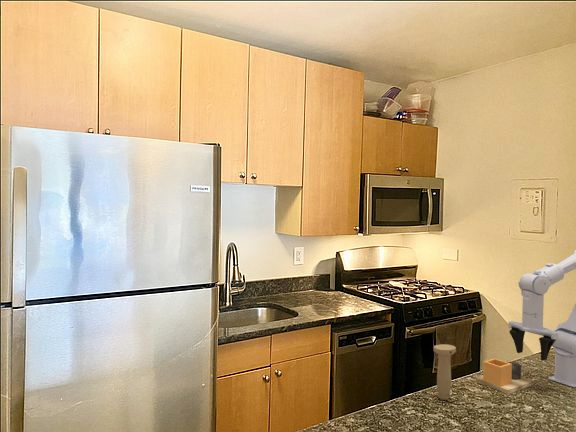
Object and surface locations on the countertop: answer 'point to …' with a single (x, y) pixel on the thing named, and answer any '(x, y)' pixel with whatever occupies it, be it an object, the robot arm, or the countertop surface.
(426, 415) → the countertop surface
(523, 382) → the fitting board
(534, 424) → the countertop surface
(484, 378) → the sleeve
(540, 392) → the countertop surface
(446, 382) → the handle
